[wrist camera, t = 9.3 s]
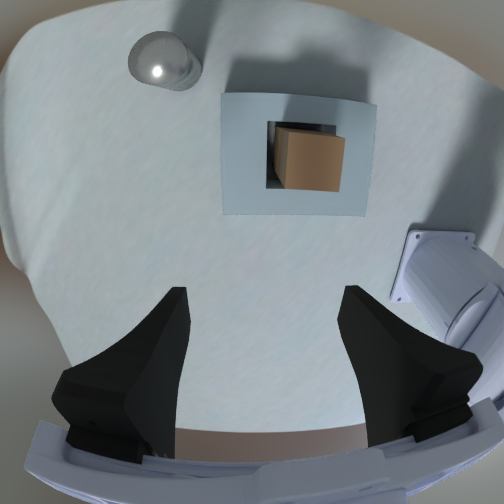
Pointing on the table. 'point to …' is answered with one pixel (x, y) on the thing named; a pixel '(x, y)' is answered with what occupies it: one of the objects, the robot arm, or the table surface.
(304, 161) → the square bit
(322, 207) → the socket block
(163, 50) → the cylinder
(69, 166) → the table surface
